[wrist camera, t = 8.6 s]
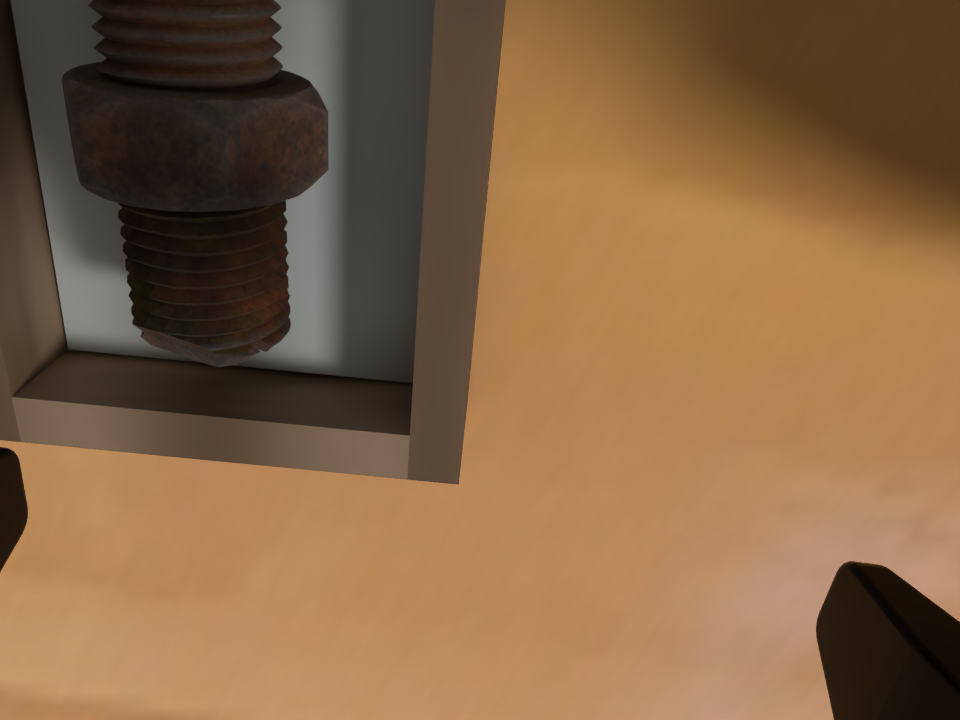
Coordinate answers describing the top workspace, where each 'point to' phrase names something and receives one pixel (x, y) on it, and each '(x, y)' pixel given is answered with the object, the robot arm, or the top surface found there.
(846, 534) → the top surface
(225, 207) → the bolt
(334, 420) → the wooden tray
